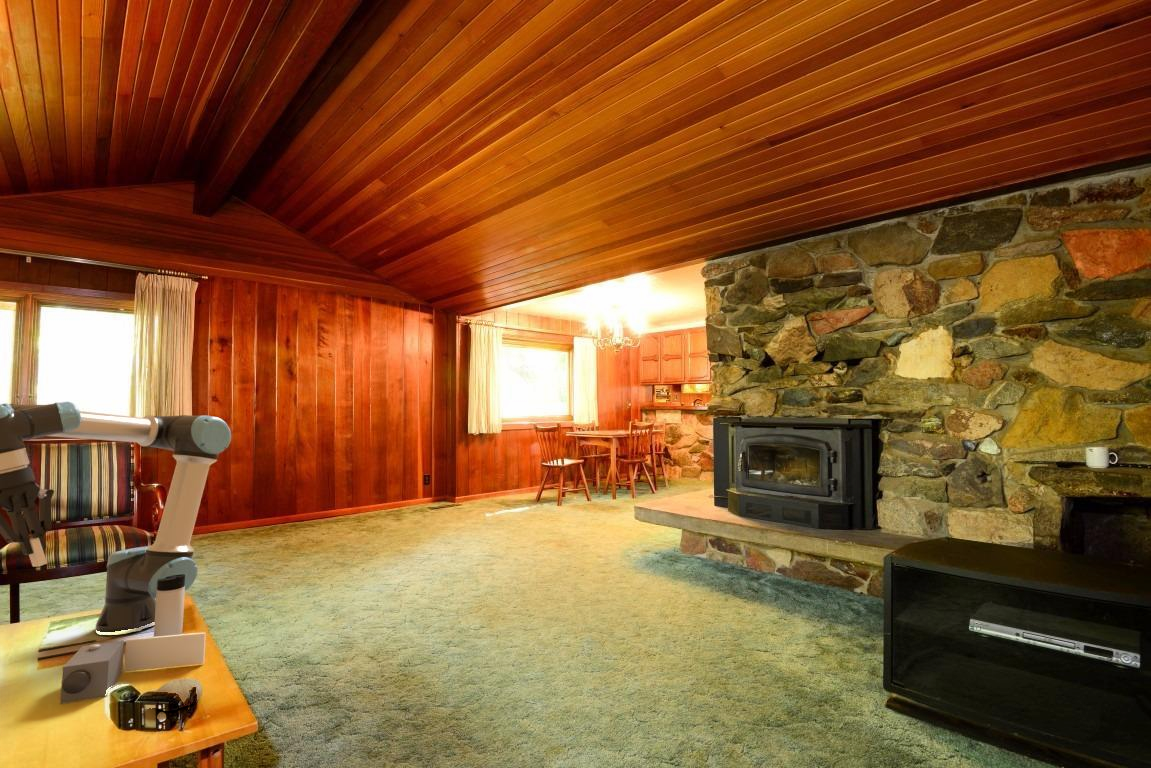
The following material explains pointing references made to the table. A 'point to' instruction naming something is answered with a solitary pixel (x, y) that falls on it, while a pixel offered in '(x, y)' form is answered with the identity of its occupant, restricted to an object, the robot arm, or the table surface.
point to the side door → (164, 651)
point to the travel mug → (169, 605)
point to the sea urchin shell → (182, 687)
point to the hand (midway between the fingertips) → (40, 564)
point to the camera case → (92, 671)
